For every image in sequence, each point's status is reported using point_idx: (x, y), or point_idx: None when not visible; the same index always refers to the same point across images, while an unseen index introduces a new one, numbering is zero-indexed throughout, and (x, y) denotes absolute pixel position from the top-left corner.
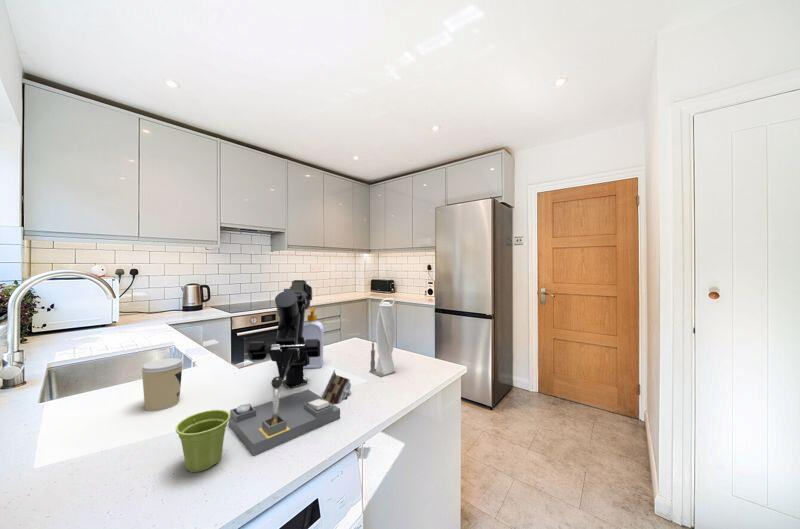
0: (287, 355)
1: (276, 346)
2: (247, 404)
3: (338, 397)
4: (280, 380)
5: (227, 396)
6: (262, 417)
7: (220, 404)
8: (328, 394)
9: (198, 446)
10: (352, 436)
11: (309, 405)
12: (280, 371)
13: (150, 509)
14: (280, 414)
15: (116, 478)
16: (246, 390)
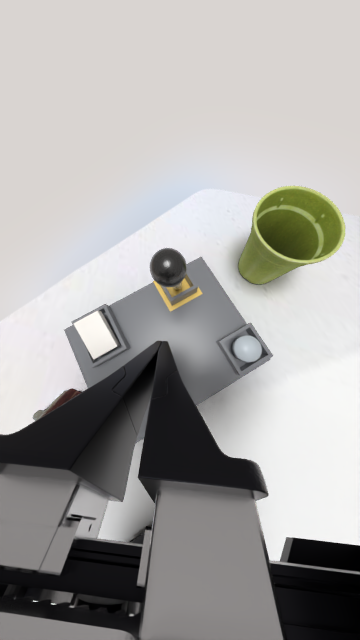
0: (99, 403)
1: (201, 629)
2: (243, 359)
3: (58, 402)
4: (155, 253)
5: (314, 509)
6: (203, 332)
7: (311, 459)
8: None
9: (273, 217)
10: (72, 277)
11: (115, 339)
12: (163, 351)
13: None
14: (172, 335)
15: (345, 262)
16: (278, 541)
